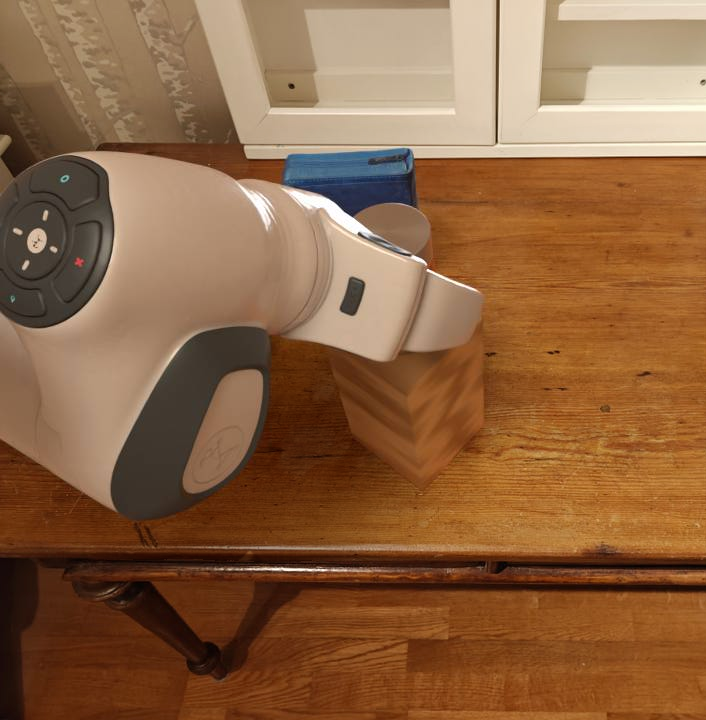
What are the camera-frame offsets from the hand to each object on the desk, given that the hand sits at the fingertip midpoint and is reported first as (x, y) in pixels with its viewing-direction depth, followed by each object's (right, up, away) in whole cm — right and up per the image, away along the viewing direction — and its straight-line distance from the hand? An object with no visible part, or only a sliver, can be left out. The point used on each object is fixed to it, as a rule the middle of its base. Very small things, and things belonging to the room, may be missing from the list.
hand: (394, 270), depth 55 cm
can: (0, -4, +5) cm, 7 cm away
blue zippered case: (-6, +2, +32) cm, 33 cm away
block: (0, -15, +20) cm, 25 cm away
